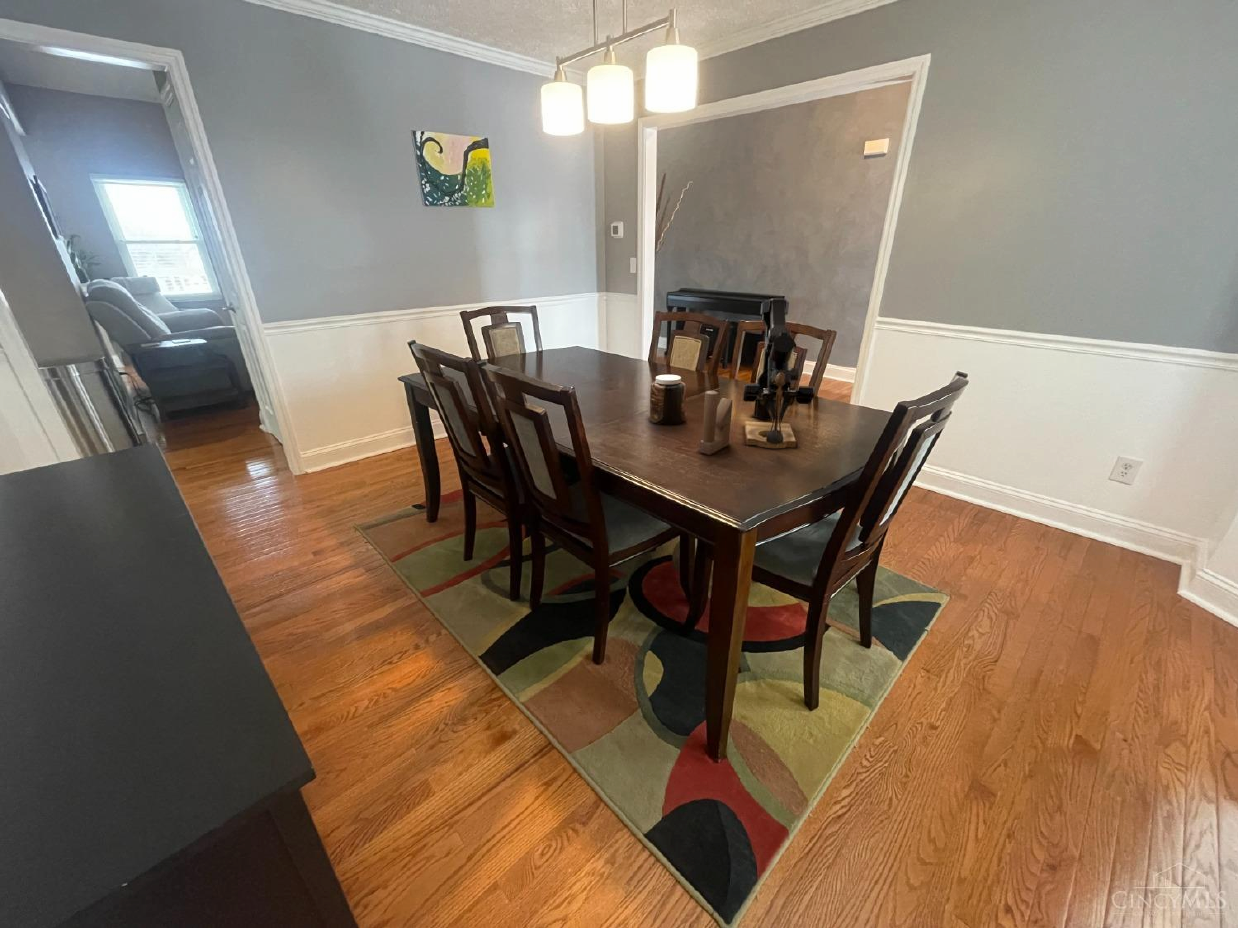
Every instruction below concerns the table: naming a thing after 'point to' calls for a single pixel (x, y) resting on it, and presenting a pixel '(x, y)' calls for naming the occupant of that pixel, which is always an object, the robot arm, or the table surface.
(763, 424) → the wooden board with hole
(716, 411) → the beige post stand
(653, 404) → the jar
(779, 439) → the wooden tabletop sculpture
